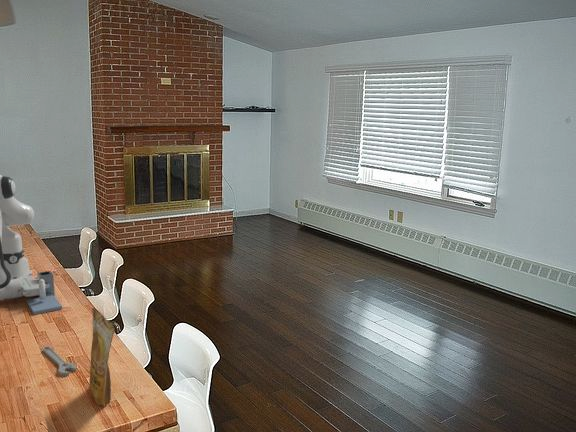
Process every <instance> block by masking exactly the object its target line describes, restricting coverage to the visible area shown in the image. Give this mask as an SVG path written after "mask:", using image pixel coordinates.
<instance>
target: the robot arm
mask: <svg viewBox="0 0 576 432" xmlns="http://www.w3.org/2000/svg"><path fill="white" fill-rule="evenodd" d="M15 192H16V182H14V179H13V178H11V177H9V176H7V175H5V176H4V175H2V174H0V302H1V301H4V300H7V299H8V300H12V299H17V298H18V299H19V298H22V297H23V296H24V297H35V296H40V295H39V284H38V278H35V276H33V270H31V269H29V267H30V266H29V260H28V259H27V258H26V257H25V252H24V251H25V250H24V249H23V243H22V242H23V241H22V240H23V239H22V236H21V235H20V234H19V233H18V232H17V231H14V230H12V229H11V228H10V227H11V226H12V227H13V226H23V225H28V224H29V225H30V224H31V223H32V222H33V221H34V218H35V210H34V209H33V207H32V206H31V205H29V204H26V203H23V202H21V201H19V200H17V198H16V197H15V196H14V195H15V194H16V193H15ZM9 226H10V227H9ZM49 287H50V284H49V283H46V284H45V288H49Z"/></svg>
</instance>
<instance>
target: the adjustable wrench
mask: <svg viewBox="0 0 576 432" xmlns="http://www.w3.org/2000/svg"><path fill="white" fill-rule="evenodd" d="M42 352H43V353H44V354H45V355H46V356H48V357H49V358H50V359H51V360H52V361H53V362H54V363H55V364H56V365H57V366H58V370H57V371H58V375H59V376H62V377H68V376H70V372H69V370H70V371H72V372H77V365H76V362H66V361H65V360H64V359H63V358H62V357H61V356H60V355H59V354H58V353H57V352H56V351H55V350H53V348H52V347H51V346H44V347H43V348H42Z"/></svg>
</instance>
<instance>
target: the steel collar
mask: <svg viewBox="0 0 576 432" xmlns="http://www.w3.org/2000/svg"><path fill="white" fill-rule="evenodd" d="M36 275H37V276H36V277H37V279H38V281H39V280H40V279H43V280H44V281H45V284H46V283H49V284H50V287H49V288H45V293H46V296H51V295H54V296H55V297H56V294H55V293H56V292H55V281H54V273H53V272H52V271H51V270H48V271H47V270H46V271H41V272H40V271H39V272H37V273H36Z"/></svg>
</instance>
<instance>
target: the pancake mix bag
mask: <svg viewBox="0 0 576 432" xmlns="http://www.w3.org/2000/svg"><path fill="white" fill-rule="evenodd" d="M91 311H92V341H91V352H90V369H89V382H88V383H89V389H90V392H91V394H92V396H93V399H94V401H95V404H96V403H97V404H96V405H97V406H103V407H104V408H106V407H107V406H108V405H109V404H110V403H111V401H112V398H111V397H112V396H111V395H112V392H111V391H112V388H111V386H112V385H111V383H112V382H111V373H110V368H109V364H108V363H109V356H110V349H111V346H112V341H113V337H114V334H115V326H114V325H113V323H111V322H110V321H109V320H108V319H106V317H105V316H104V315H103V314H102V313H101V312H100V310H98V309H97V308H95V307H92V308H91ZM110 400H111V401H110ZM107 404H108V405H107ZM106 405H107V406H106Z"/></svg>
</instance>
